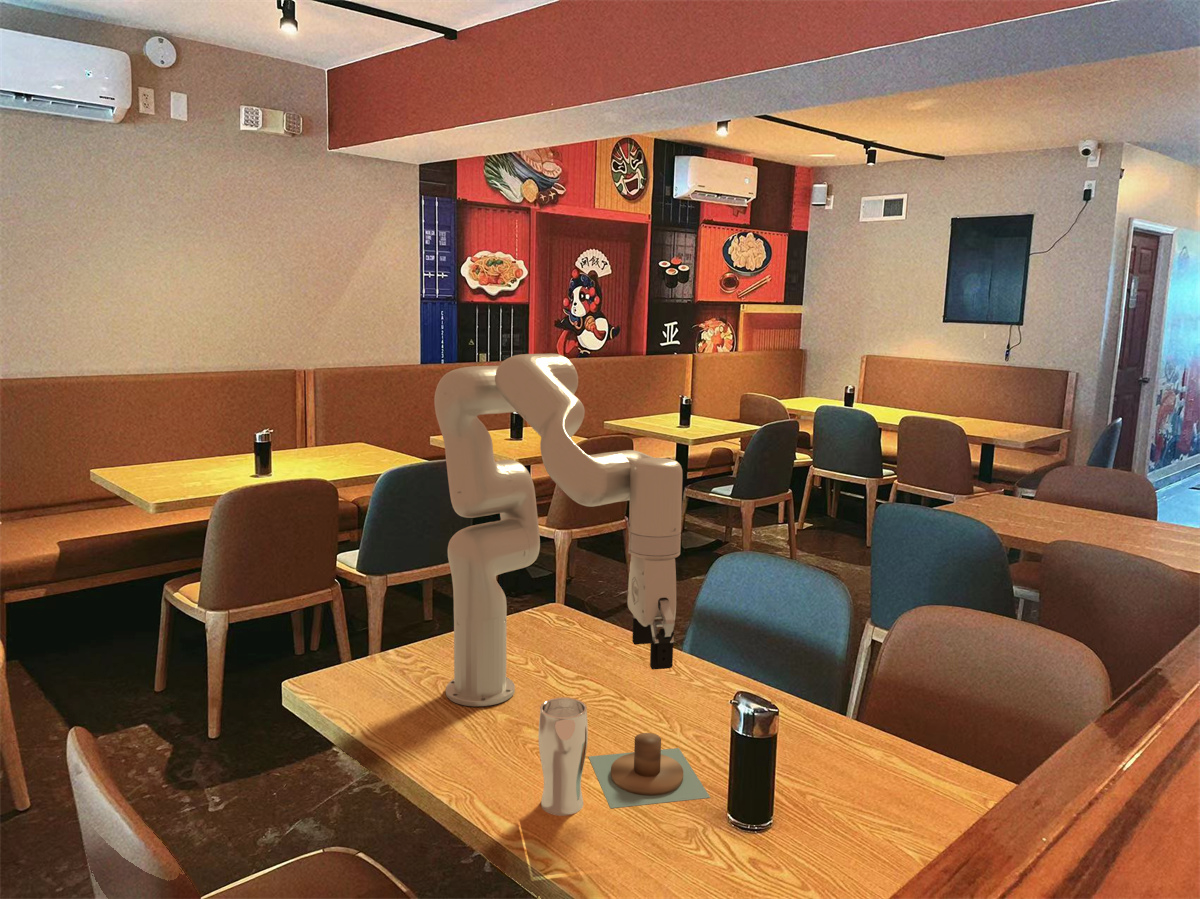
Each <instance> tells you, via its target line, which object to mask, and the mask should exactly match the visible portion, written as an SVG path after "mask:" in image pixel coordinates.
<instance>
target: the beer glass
mask: <svg viewBox="0 0 1200 899" xmlns="http://www.w3.org/2000/svg"><path fill="white" fill-rule="evenodd" d="M539 709H540V710H539V721H538V736H537V737H538V749H539V750H538V751H539V756H540V757H539V758H540V764H541V769H542V776H543V791H542V795H541V801H540V807H541V809H542V810H543V812H544V811H545V812H546V813H547V814H549V815H550V814H551V815H552V816H553V815H554V816H560V817H564V816H572V815H574V814H577V813H578V812H580V811H581V810H582V809H583V807H584V799H583V793H582V776H583V770H584V765H585V761H586V755H587V749H588V739H589V730H588V729H589V724H588V711H587V710H588V707H587V705H586V704H585V702H583V701H581V700H579V699H576V698H573V697H572V698H571V697H556V698H551V699H548V700H546V701H544V702H543V703H541V705H540V708H539Z"/></svg>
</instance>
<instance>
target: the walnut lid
mask: <svg viewBox="0 0 1200 899" xmlns="http://www.w3.org/2000/svg"><path fill="white" fill-rule="evenodd" d="M633 748H634V749H633V750H634V751H633V752H634V753H631V752H630V753H631V754H627V755H624V756H622V757H620V758H618V759H617V760H615V761H614V762H613V764H612V766H611V779H612V781H613V782H614V784H615V785H616V786H618V787H619V788H621V789H622V790H624V791H627V792H630V793H633V794H637V795H646V796H654V795H662V794H666V793H669V792H672V791H674V790H676V789H677V788H678V787H680V785H681V784H682V782H683V768H682V766H681V765H680V764H679V763H678V762H677V761H676V760H674V759H672V758H670V757H668V756H665V755H662V754H661V750H662V737H661V736H660V735H658V734H655V733H652V732H643V733H639V734H637V735H635V736H634V747H633Z"/></svg>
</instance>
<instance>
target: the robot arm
mask: <svg viewBox="0 0 1200 899" xmlns="http://www.w3.org/2000/svg"><path fill="white" fill-rule="evenodd" d="M578 386H579V375H578V372H577V369H576V367H575V365H574V364H573V362H571V360H570V359H568V357H566V356H564V355H562V354H559V353H525V354H523V353H522V354H515V355H512V356H509V357H508V358H506V359H504V360H503V361H502V362H501V363H500V364H498V365H477V366H476V365H475V366H474V365H473V366H464V367H459V368H455V369H453V370H450V371H449V372H446V373H445V374H444V375H443V376H442V377H440V379H439V381H438V383H437V386H436V389H435V391H434V400H433V401H434V411H435V416H436V420H437V424H438V426H439V430H440V432H441V435H442V436H441V437H442V440H443V444H444V452H445V461H446V463H445V464H446V470H447V472H446V473H447V480H448V489H449V496H450V502H451V505H452V509H453V510H454V512H455V513H456V514H457V515H458V516H460V517H462V518H468V519H470V518H473V519H474V518H481V517H486V516H493V515H496V514H499V517H500V520H495V521H489V522H485V523H479V524H475V525H470V526H467V527H464V528H462V529H460V530H458V531H457V532H455V533H454V534H453V535H452V537H451V538H450V539H449V541H448V545H447V558H448V564H449V569H450V574H451V582H452V590H453V594H452V595H453V640H454V641H453V655H454V656H453V659H454V660H453V666H454V667H453V668H454V670H453V671H454V673H453V675H454V676H453V677H454V678H453V679H451V680H450V681H449V682H448V683H447V684H446V686H445V696H446V697H447V698H448V699H449V700H450V701H451V702H453V703H455V704H458V705H461V706H467V707H489V706H493V705H498V704H501V703H503V702H506V701H508V700H509V699H510V698H512V697H513V695H514V694H515V691H516V690H515V688H516V685H515V682H513V680H512V679H510V677H507V618H508V617H507V615H508V614H507V612H508V610H507V607H508V606H507V597H506V594H505V591H504V589H502V587H501V586H500V584H499V583H498V581H497V576H498V575H501V574H504V573H509V572H514V571H516V570H520V569H524V568H527V567H529V566H531V565H532V564H533V563H535V561H537V559H538V557H539V554H540V548H541V539H540V527H539V517H538V507H537V499H536V497H537V496H536V491H535V485H534V482H533V478H532V476H531V474H530V472H529V470H528V468H527V467H525V465H523V463H521V462H519V461H517V460H513V459H505V460H498V461H496V460H495V456H494V446H493V439H492V436H491V434H490V433H489V432H490V431H488V429H487V427H486V426H485V424H484V423H483V422H482V421H481V420H480V419H479V418H478V416H480V415H496V414H508V413H517V414H518V415H519V416H520V417H521V418H522V419H523V420H525V422H527V424H528V425H529V426H530V427H531V428H532V429H533V430H534V431H535V432H536V433H537V434H538V435H539V436H540V437H541V438H540V444H539V448H540V455H541V458H542V464H543V466H544V468H545V471H546V473H547V475H548V476H549V478H550V480H552V481H553V483H554V484H556V485H557V486H558V487H559V489H561V491H562V492H564V493H565V495H566V496H568V498H570V499H571V500H572V501H573V502H575V503H577V504H579V505H581V506H584V507H591V508H592V507H598V506H599V507H600V506H604V505H608V504H614V503H619V502H626V501H629V511H628V512H629V515H628V516H629V517H628V525H629V526H628V554H629V555H630V563H629V573H628V584H627V586H628V587H627V607H628V610H629V611H630V612H631V614H632V616H633V618H632V643H633V644H634V645H636V646H637V645H647V644H648V645H650V654H649V656H650V659H649V667H650V669H651V670H665V669H672V668H673V661H674V660H673V659H674V641H675V640H674V638H675V637H674V635H675V630H674V628H675V623H676V622H675V621H676V613H677V574H676V573H677V572H676V558H678V557H679V556H680V555H681V540H682V539H681V535H682V534H681V532H682V506H683V505H682V501H683V499H682V498H683V468H682V465H681V464H680V462H678V461H677V460H674V459H670V458H666V457H665V458H664V457H653V456H651V455H649V454H646V453H644V452H641V451H638V450H633V449H626V450H618V451H609V452H601V453H596V454H587V453H586V452H585V451H584V450H582V449H581V448H580V447H579V446H578V445H577V444H576V443H575V441H573V439H572V437H573V436H574V435H575V434H576V433H577V432H578V430H580V427H581V426H582V424H583V421H584V419H585V413H586V410H585V406H584V403H582V401H581V400H580V399H579V398H578V397H577V396H576V395H575V394H576V392H577V390H578ZM658 628H660V629H659V632H658Z"/></svg>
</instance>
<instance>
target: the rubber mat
mask: <svg viewBox="0 0 1200 899" xmlns="http://www.w3.org/2000/svg"><path fill="white" fill-rule="evenodd" d="M631 753H634V751H632V752H623V753H621V752H620V753H611V754H610V753H609V754H602V755H601V754H600V755H589V756H587V757H588V759H589V762H590V764H591V766H592V769H593V771H594V773H595V776H596V778H597V780H598V783H599V785H600V787H601V790H602V792H603V794H604V797H605V799H606V801H607V805H608V806H609V808H610V810H611V809H620V808H627V807H629V808H630V807H639V806H647V805H657V804H665V803H666V804H667V803H674V802H675V803H677V802H685V801H692V800H703V799H711V796H710V794H709V793H708V792H707V790H706V788H705V787H704V785H703V783H702V782H701V780H700V778H698V775H697V774H696V773H695V771H694V769H693V768H692V766H691V765H690V763H689V761H688V760H687V759H686V757H685V755H684V753H683V752H682V750H681V749H680V747H676V748H675V747H674V748H664V749H663V748H662V749H661V754H662V755H665V756H668V757H670V758H672V759H674V760H676V761H677V762H678V763H679V764H680V765H681V766H682V768H683V782H682V784H681V785H680V787H678V788H677V789H676V790H674V791H672V792H669V793H666V794H662V795H654V796H646V795H637V794H633V793H630V792H627V791H624V790H622V789H621V788H619V787H618V786H616V785H615V784H614V782H613V781H612V779H611V766H612V764H613V762H614V761H615V760H617V759H618V758H620V757H622V756H624V755H627V754H631Z"/></svg>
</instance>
